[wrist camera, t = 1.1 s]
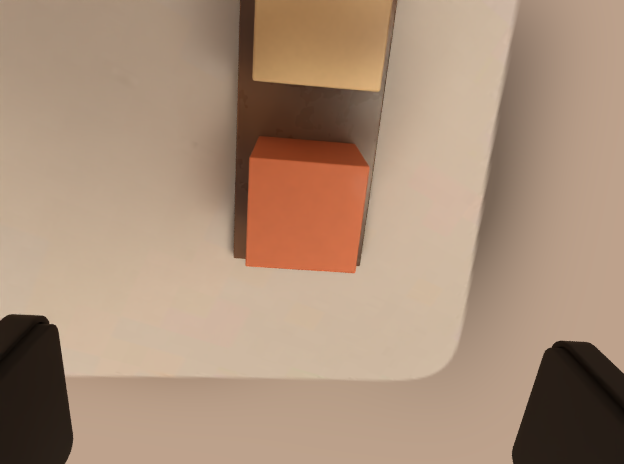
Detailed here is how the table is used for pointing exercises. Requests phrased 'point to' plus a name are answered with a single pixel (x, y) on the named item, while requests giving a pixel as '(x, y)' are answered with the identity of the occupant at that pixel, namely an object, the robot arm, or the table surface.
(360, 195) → the orange cube
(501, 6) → the table surface
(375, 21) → the light wood cube
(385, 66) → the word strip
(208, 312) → the table surface
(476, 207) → the table surface
